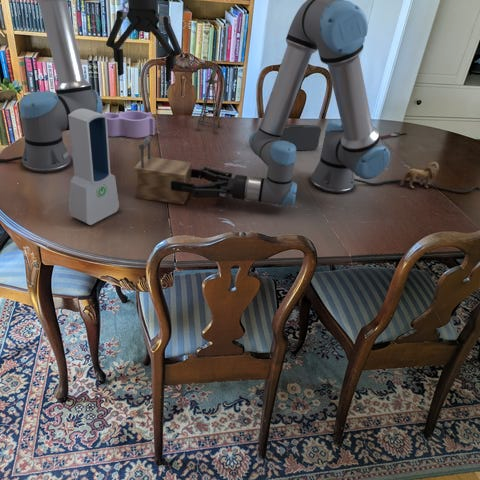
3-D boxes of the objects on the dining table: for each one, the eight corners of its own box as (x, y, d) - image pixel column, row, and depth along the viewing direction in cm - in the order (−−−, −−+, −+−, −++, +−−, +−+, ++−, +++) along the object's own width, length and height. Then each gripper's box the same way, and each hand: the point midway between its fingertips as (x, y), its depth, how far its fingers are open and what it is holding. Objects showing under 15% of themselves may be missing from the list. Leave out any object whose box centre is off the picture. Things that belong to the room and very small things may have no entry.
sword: (403, 131, 224) (404, 129, 223) (408, 133, 222) (409, 131, 221) (360, 143, 208) (360, 140, 207) (365, 145, 206) (366, 142, 205)
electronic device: (87, 227, 129) (77, 121, 112) (68, 218, 132) (56, 113, 115) (120, 210, 138) (114, 110, 122) (101, 202, 141) (94, 103, 125)
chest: (138, 197, 146) (137, 172, 141) (147, 184, 154) (146, 159, 149) (183, 204, 145) (184, 178, 140) (190, 190, 153) (191, 166, 148)
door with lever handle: (134, 171, 141) (133, 144, 136) (143, 159, 149) (143, 133, 144) (184, 178, 140) (185, 151, 135) (191, 165, 148) (192, 139, 143)
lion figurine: (427, 181, 177) (434, 159, 172) (436, 187, 173) (444, 165, 168) (395, 184, 172) (401, 161, 167) (403, 190, 168) (411, 167, 163)
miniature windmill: (215, 133, 199) (220, 59, 183) (196, 130, 200) (199, 56, 184) (220, 126, 207) (225, 55, 190) (201, 123, 208) (205, 52, 191)
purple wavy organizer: (104, 138, 183) (103, 121, 179) (102, 127, 192) (100, 111, 189) (155, 137, 189) (155, 120, 185) (150, 126, 199) (150, 110, 195)
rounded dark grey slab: (315, 147, 196) (319, 124, 190) (317, 149, 194) (322, 126, 188) (264, 149, 189) (267, 125, 183) (266, 152, 187) (269, 127, 181)
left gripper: (194, -4, 121) (191, 79, 133) (101, -15, 123) (106, 69, 134) (187, -1, 115) (185, 86, 126) (89, -13, 116) (96, 75, 128)
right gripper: (240, 216, 137) (166, 205, 138) (249, 183, 156) (183, 174, 157) (242, 193, 133) (166, 182, 134) (251, 162, 152) (184, 153, 153)
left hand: (144, 77), depth 130 cm, fingers open, 13 cm apart
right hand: (175, 178), depth 146 cm, fingers closed on chest, 10 cm apart
